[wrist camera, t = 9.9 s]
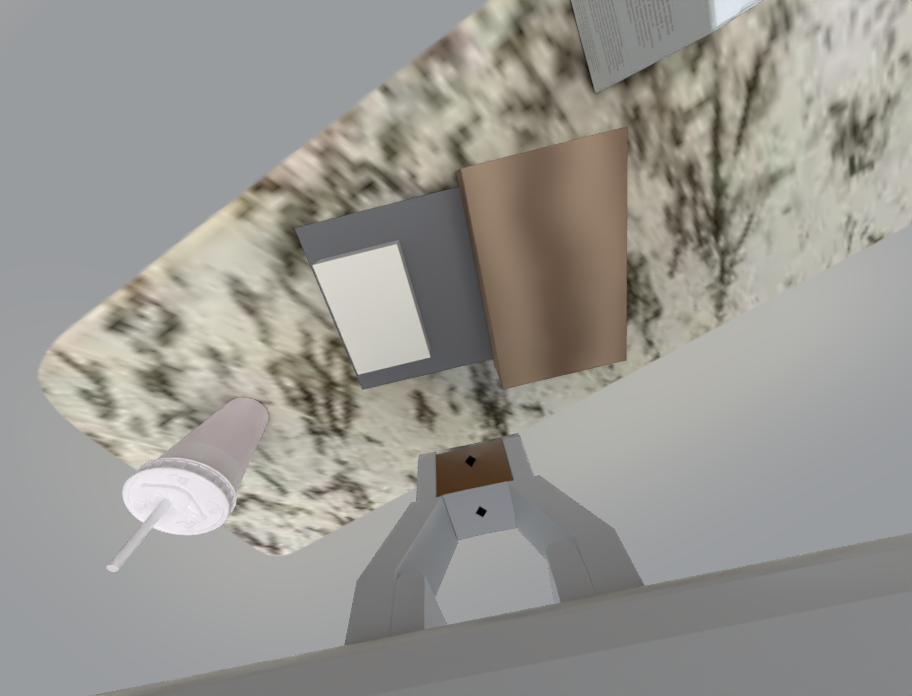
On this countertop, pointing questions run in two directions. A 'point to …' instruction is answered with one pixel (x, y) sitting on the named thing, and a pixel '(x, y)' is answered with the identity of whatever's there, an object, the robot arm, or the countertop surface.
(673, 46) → the small box
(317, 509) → the countertop surface
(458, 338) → the mat
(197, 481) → the smoothie
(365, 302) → the tile
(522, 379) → the brown wooden block
